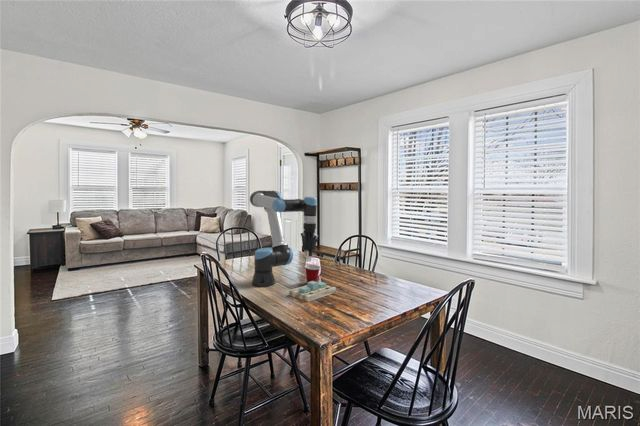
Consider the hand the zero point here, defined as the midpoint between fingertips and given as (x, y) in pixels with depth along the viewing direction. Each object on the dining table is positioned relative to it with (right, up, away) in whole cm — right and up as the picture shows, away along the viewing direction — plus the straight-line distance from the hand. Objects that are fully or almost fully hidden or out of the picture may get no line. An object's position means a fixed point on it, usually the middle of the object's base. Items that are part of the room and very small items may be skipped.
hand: (308, 261), depth 193 cm
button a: (-2, -19, -6) cm, 20 cm away
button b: (+3, -16, -1) cm, 17 cm away
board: (+3, -19, -1) cm, 20 cm away
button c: (+7, -18, +4) cm, 20 cm away
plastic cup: (+2, -18, +20) cm, 27 cm away
